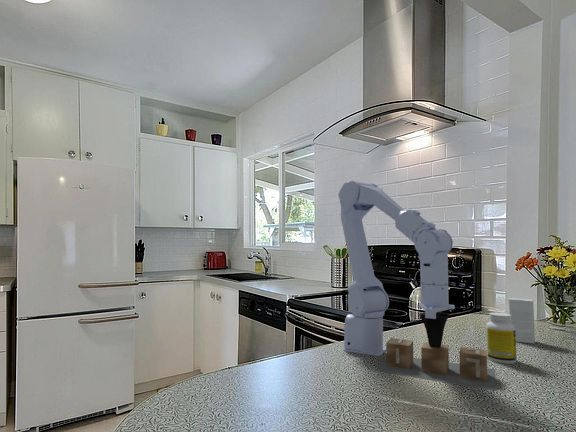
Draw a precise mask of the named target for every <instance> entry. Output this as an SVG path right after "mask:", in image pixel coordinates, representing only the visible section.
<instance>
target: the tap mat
mask: <svg viewBox="0 0 576 432" xmlns="http://www.w3.org/2000/svg"><path fill="white" fill-rule="evenodd" d="M373 371H374V372H375V371H376V372H382V373H387V374H394V375H399V376H404V377H405V376H406V377H409V378H410V377H411V378H416V379H423V380H430V381H434V382H441V383H447V384H451V385H453V384H454V385H458V386H465V387H468V388H469V387H470V388H476V389H482V390H489V391H494V392H497V382H496V380H497V379H496V369H494V368H489V367H487V382H486V381H479V380H473V379H467V378H461V377H460V363H456V362H455V363H453V362H449V370H448V373H447V375H442V374H436V373H429V372H423V371H422V366H421V358H420V357H419V358H418V357H414V356H413V365H412V366H411V368H410V369H404V368H398V367H392V366H386V357H385V358H384V359H383V360H382V361H381V363H379V364H378V366H377V367H376V368H375V369H374V370H373Z"/></svg>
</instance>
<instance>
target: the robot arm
mask: <svg viewBox="0 0 576 432" xmlns="http://www.w3.org/2000/svg"><path fill="white" fill-rule="evenodd" d="M338 198H339V203H340V220H341V225H342V230H343V234H344V241H345V245H346V248H347V249H346V250H347V254H348V259H349V262H350V263H349V264H350V268H351V269H350V270H351V273H352V278H353V280H352V281H351V282H350V284H349V285H348V287H347V292H348V293H347V294H348V298H347V307H348V308H349V310H350V312H351V313H349V314H347V315H346V317H345V320H344V328H343V330H344V331H343V332H344V333H343V334H344V338H343V339H344V341H343V342H344V343H343V347H344V348H343V352H349V353H356V354H362V355H369V356H376V357H381V356H382V355H383V354H384V353H386V346H384V316H385V311H387V310H388V308H389V305H390V299H389V295H388V293H387V292H386V291H385V289H384V286H383V282H381V281H380V279H378V278H377V277H376V276H375V273H374V272H375V271H374V268H373V264H372V260H371V259H372V258H371V255H370V249H369V246H368V242H367V241H368V240H367V237H366V233H365V229H364V224H363V219H364V218H365V216H366V215H367V214H368V213H369V212H370V211H371V210H372V209H373V208H374V207H376V208H377V209H379V210H380V211H381V212H382V213H384V214H386V215H387V216H389V217H390V218H391V219H392V220H394V223H395V228H396V229H397V230H398V231H399V232H400V233H402V234H403V235H404V236H405V237H406V238H408V239H409V240H410V241H411V242H412V243H413V245H414V249H415V250H416V252H417V254H418V259H419V262H420V263H419V264H420V265H419V266H420V275H419V276H420V302H419V307H420V309H422V310H423V311H424V312H420V314H419V317H420V320H421V321H422V322H423V325H424V328H425V332H426V337H427V341H428V342H427V343H429V345H430V347H438V348H440V347H441V344H442V343H443V336H444V331H445V326H446V323H447V321H448V318H449V317H450V313H448V312H443V311H448V310H455V308H456V307H455V304H449V301H450V300H449V258H448V257H449V256H448V255H449V253H450V252H451V250H452V249H453V244H454V243H453V239H452V235H450V234H449V232H448V231H447V230H446V229H442V228H441V229H437V227H436V224H435V223H433V222H429V221H428V220H426V219H425V218H423V216H421V213H422V212H420V211H419V210H416V209H404V208H403V207H402V206H400V204H398V203H397V202H396V201H395V200H393V198H391V197H390V196H389V195H388V193H386V192H385V191H384V190H383V188H381V187H379V186H378V185H377V184H375V183H366V182H359V181H355V180H351V179H349V180H346V181H345V182H344V183H343V184H342V186H341V187H340V189H339V192H338Z"/></svg>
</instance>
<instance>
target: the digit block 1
mask: <svg viewBox="0 0 576 432" xmlns="http://www.w3.org/2000/svg"><path fill="white" fill-rule="evenodd" d="M385 343H386V346H385V347H386V351H385V353H386V357H385V358H386V366H392V367H398V368H404V369H410V368H411V366H412V365H413V357H414V340H409V339H403V338H395V337H390V338H389V340H388V341H386V342H385Z"/></svg>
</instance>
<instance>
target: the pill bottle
mask: <svg viewBox="0 0 576 432" xmlns="http://www.w3.org/2000/svg"><path fill="white" fill-rule="evenodd" d="M488 316H489V317H488V318H489V320H490V321H488V322H487V323H486V326H485V330H486V331H485V332H486V333H485V334H486V336H485V338H486V341H485V342H486V350H487V360H489V361H491V362H494V363H498V364H505V365H507V364H508V365H509V364H510V365H511V364H516V363H517V342H516V330H515V326H514V325H512V324H511V320H512V316H511V315H510V313H504V312H489V315H488Z"/></svg>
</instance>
